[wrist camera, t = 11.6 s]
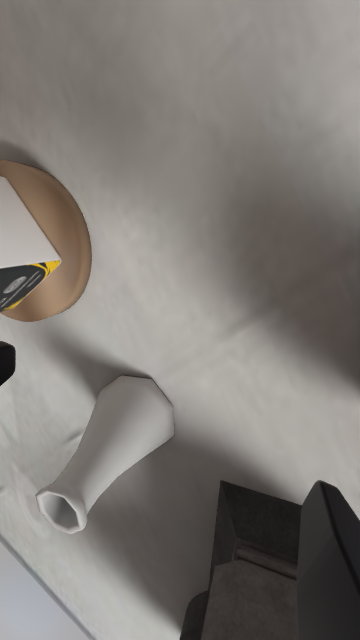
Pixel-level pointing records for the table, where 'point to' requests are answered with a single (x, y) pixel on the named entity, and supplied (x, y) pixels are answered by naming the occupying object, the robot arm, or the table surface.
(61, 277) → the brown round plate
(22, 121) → the table surface
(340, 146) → the table surface
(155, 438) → the flask
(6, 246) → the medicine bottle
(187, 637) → the juicer
